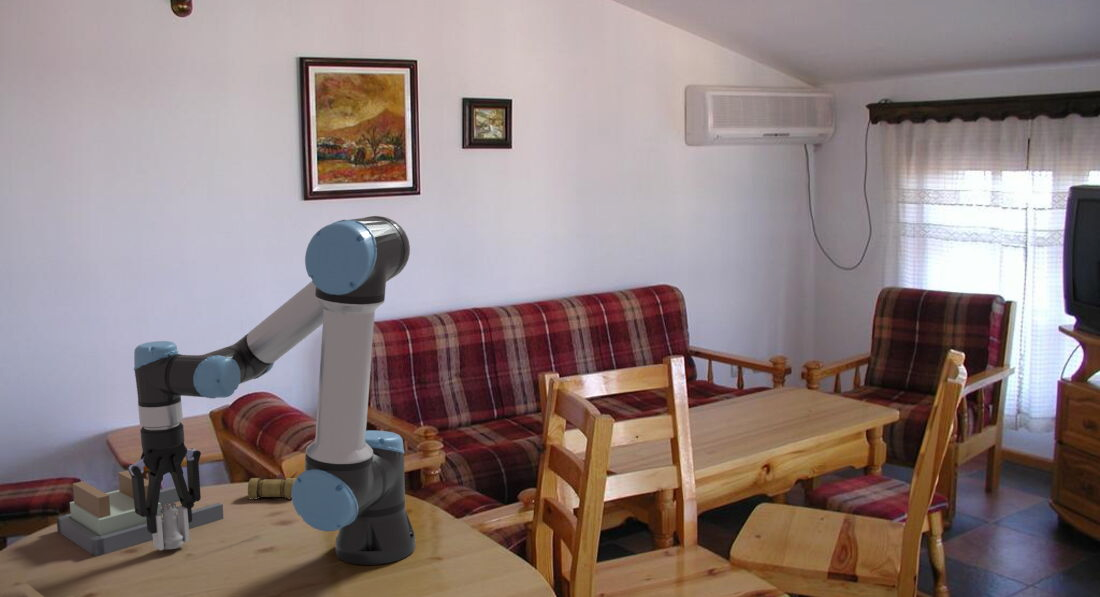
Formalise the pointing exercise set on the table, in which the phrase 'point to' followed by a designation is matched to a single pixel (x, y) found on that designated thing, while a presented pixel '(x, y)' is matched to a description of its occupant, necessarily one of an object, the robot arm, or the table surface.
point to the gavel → (270, 487)
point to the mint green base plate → (107, 507)
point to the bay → (133, 534)
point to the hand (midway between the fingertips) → (171, 543)
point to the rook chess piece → (171, 527)
